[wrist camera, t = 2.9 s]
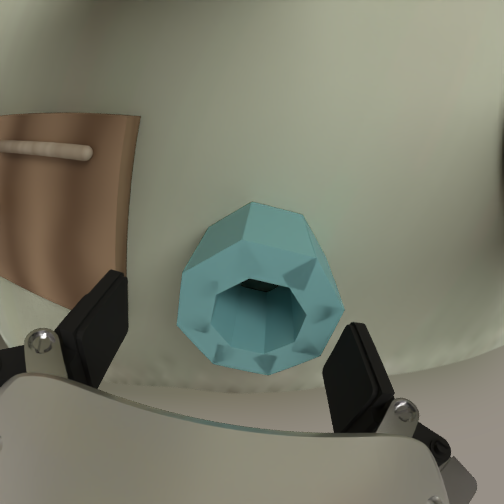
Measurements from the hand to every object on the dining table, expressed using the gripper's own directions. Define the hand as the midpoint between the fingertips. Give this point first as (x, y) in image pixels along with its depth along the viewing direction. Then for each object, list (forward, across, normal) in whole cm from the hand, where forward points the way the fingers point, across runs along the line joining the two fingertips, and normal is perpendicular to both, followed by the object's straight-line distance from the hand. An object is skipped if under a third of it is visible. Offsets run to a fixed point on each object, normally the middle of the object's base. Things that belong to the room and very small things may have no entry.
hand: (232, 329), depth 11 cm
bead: (+5, -1, -1) cm, 5 cm away
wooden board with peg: (+6, +16, -1) cm, 17 cm away
